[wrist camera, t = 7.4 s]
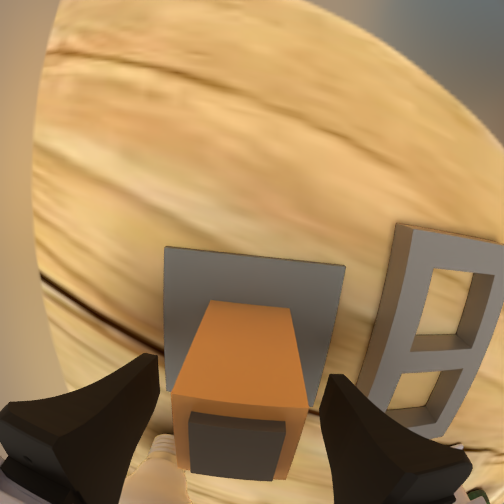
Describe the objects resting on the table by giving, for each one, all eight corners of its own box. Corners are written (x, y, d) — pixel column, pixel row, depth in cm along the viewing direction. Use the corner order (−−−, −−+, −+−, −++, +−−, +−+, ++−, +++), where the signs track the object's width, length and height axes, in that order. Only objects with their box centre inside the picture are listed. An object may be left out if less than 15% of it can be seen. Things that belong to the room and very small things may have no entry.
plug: (278, 372, 16) (286, 489, 8) (207, 364, 16) (174, 477, 8) (289, 308, 15) (311, 419, 7) (210, 300, 15) (166, 403, 7)
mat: (312, 403, 17) (312, 406, 17) (167, 388, 17) (166, 391, 17) (344, 265, 15) (345, 266, 15) (166, 246, 15) (164, 247, 15)
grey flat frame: (432, 420, 17) (442, 436, 15) (339, 429, 17) (344, 449, 15) (496, 241, 14) (516, 248, 12) (396, 222, 14) (413, 228, 12)
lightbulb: (211, 412, 17) (179, 564, 7) (222, 467, 19) (204, 587, 8) (122, 404, 18) (55, 525, 7) (145, 458, 19) (104, 564, 8)
